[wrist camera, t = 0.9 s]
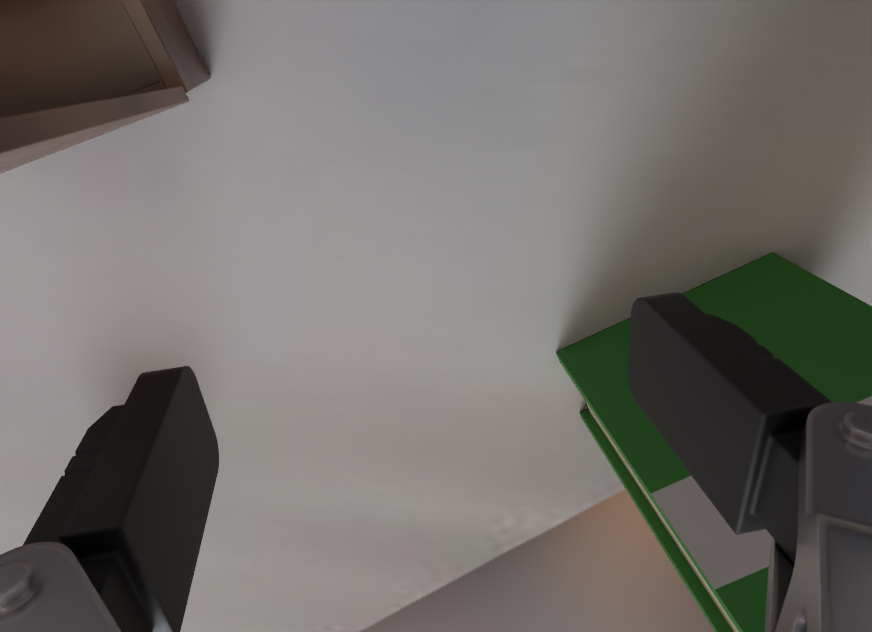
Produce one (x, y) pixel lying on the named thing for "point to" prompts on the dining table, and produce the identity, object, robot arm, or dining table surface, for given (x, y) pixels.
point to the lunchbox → (91, 52)
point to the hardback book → (662, 470)
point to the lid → (76, 124)
